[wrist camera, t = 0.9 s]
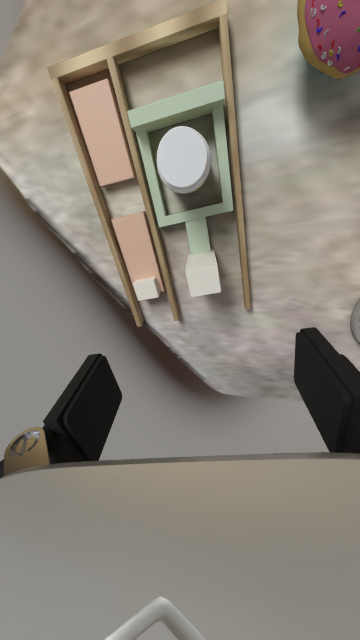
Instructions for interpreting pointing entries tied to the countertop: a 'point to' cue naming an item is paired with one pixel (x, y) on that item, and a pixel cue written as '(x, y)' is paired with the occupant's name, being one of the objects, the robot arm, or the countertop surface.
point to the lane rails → (111, 58)
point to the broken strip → (114, 167)
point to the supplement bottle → (183, 160)
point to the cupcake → (330, 35)
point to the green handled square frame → (202, 103)
